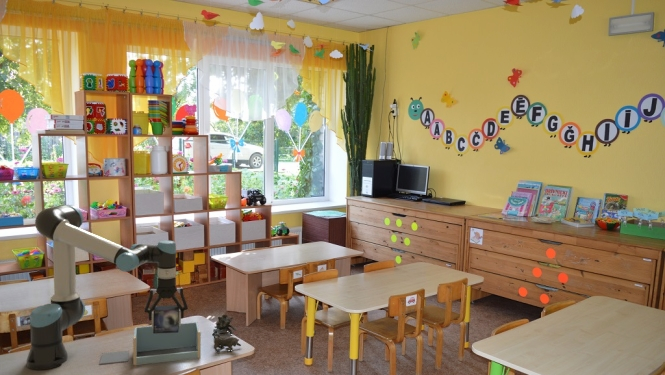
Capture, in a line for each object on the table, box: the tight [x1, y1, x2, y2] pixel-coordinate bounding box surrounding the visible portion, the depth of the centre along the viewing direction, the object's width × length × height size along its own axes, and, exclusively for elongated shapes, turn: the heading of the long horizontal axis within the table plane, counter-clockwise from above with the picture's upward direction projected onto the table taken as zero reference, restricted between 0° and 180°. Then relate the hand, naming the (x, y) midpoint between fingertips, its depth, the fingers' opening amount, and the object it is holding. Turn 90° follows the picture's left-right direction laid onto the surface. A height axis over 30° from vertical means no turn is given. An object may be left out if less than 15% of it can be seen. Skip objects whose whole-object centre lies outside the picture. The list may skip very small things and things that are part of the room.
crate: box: [132, 321, 202, 366], centre depth 231 cm, size 27×15×12 cm, turn 109°
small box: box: [153, 304, 180, 334], centre depth 230 cm, size 11×6×10 cm, turn 104°
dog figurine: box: [213, 334, 242, 354], centre depth 238 cm, size 12×6×7 cm, turn 95°
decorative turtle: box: [211, 313, 238, 337], centre depth 256 cm, size 23×11×10 cm, turn 179°
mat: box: [99, 350, 130, 366], centre depth 227 cm, size 11×11×1 cm
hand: (166, 326), depth 231 cm, fingers closed on small box, 11 cm apart
